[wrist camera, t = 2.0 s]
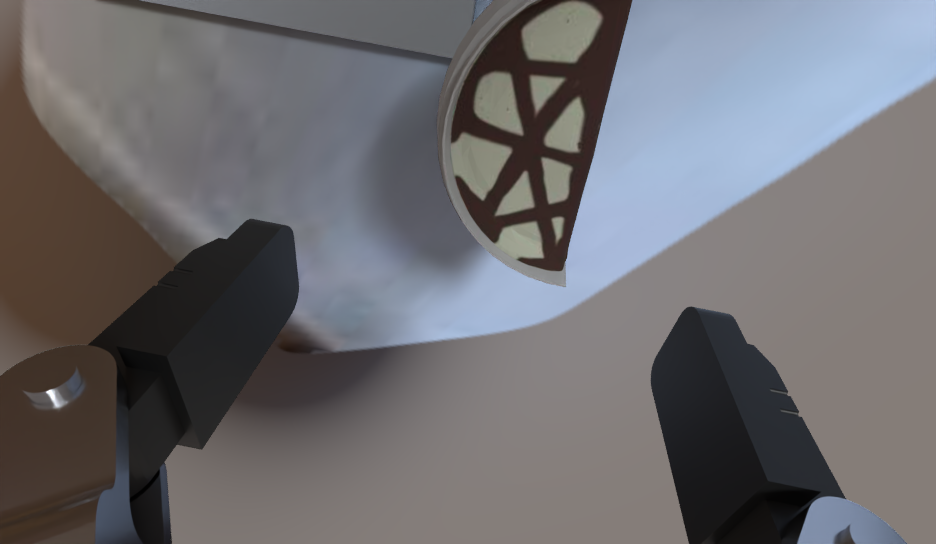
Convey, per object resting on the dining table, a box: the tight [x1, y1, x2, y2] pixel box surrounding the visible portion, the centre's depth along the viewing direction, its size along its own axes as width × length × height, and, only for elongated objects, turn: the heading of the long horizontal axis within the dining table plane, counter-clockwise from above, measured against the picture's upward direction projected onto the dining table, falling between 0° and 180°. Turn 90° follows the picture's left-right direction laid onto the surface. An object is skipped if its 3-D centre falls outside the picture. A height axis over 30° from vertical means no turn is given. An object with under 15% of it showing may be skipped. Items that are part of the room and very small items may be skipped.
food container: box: [437, 0, 632, 287], centre depth 20 cm, size 12×6×10 cm, turn 175°
